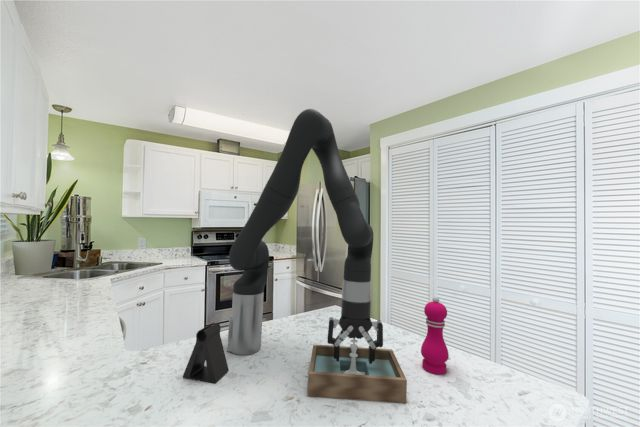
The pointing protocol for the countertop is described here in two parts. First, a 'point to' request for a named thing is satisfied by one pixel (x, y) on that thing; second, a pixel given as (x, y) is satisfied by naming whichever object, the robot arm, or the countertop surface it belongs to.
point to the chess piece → (353, 359)
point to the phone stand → (207, 356)
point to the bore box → (376, 385)
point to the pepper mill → (435, 338)
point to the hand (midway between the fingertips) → (354, 361)
